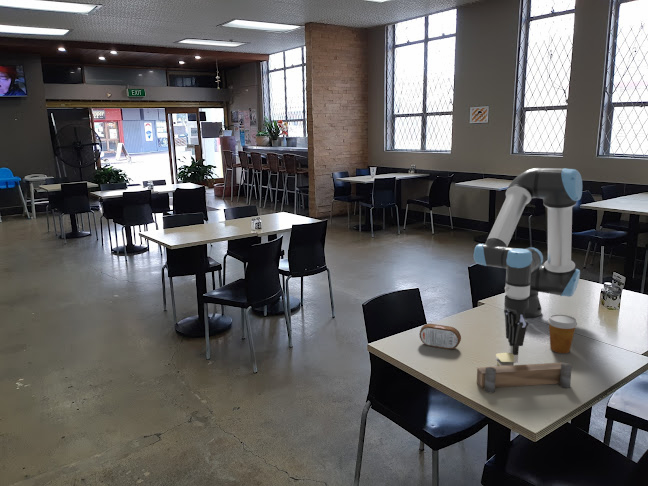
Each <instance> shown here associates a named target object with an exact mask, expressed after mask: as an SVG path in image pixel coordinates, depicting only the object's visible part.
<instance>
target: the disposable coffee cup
mask: <svg viewBox="0 0 648 486" xmlns="http://www.w3.org/2000/svg"><path fill="white" fill-rule="evenodd" d="M547 322H548V326H549V327H548V329H549V331H548V332H549V341H550V343H549V345H550V350H551V351H553V352H555V353H558V354H569V353H570V351H571V349H572V348H571V347H572V342H573V338H574V335H575V331H576V330H575V329H576V327H577V326H578V322H577V320H576V317H574V316H572V315H567V314H562V313H561V314H560V313H555V314H551V315H549V317H548V319H547Z"/></svg>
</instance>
